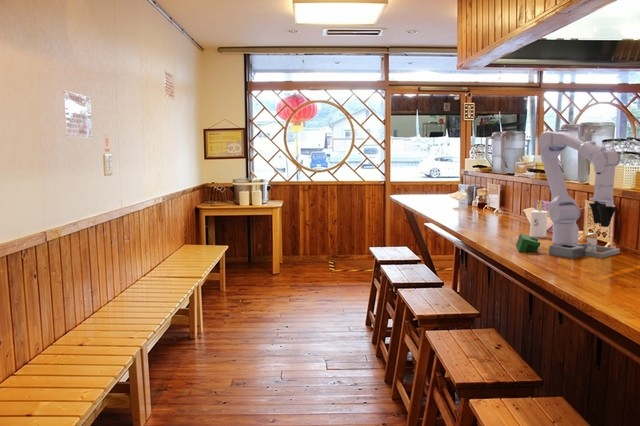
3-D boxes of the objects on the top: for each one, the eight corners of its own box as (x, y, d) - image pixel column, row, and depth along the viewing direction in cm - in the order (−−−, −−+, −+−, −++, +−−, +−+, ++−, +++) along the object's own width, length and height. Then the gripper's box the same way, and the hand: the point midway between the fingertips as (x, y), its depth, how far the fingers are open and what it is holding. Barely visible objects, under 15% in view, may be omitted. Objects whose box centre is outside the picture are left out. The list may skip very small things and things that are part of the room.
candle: (527, 236, 208) (529, 200, 206) (532, 234, 212) (534, 199, 210) (543, 238, 203) (545, 201, 201) (548, 235, 208) (550, 200, 206)
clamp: (532, 266, 173) (541, 246, 168) (514, 261, 174) (522, 241, 169) (532, 248, 182) (541, 228, 177) (516, 243, 184) (524, 223, 179)
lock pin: (585, 252, 173) (587, 232, 172) (595, 253, 171) (597, 233, 171) (586, 253, 170) (587, 233, 169) (596, 254, 169) (597, 234, 168)
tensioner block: (561, 254, 172) (562, 243, 172) (584, 258, 166) (585, 246, 165) (548, 257, 168) (549, 245, 167) (571, 261, 161) (572, 249, 161)
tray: (582, 249, 180) (582, 243, 179) (619, 256, 169) (619, 249, 169) (563, 254, 172) (563, 247, 172) (600, 260, 162) (601, 253, 162)
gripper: (585, 184, 177) (582, 221, 179) (597, 187, 163) (595, 227, 165) (606, 184, 175) (603, 222, 177) (621, 187, 161) (618, 228, 163)
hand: (601, 224), depth 171 cm, fingers open, 7 cm apart
